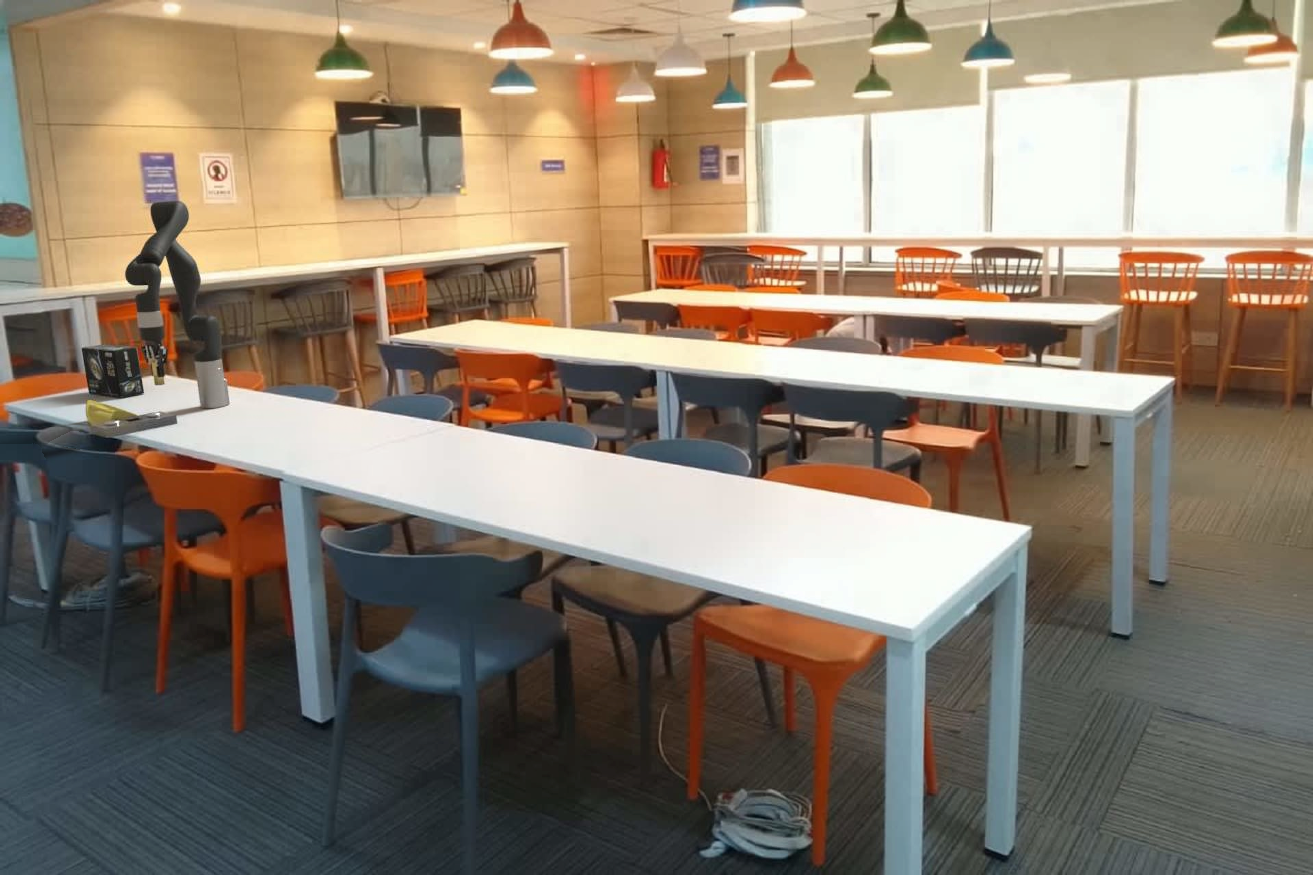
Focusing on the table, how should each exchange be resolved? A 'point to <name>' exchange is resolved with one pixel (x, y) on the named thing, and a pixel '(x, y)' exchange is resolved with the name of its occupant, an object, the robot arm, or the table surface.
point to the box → (112, 370)
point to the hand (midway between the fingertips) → (158, 376)
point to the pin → (156, 379)
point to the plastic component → (104, 412)
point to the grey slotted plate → (133, 424)
